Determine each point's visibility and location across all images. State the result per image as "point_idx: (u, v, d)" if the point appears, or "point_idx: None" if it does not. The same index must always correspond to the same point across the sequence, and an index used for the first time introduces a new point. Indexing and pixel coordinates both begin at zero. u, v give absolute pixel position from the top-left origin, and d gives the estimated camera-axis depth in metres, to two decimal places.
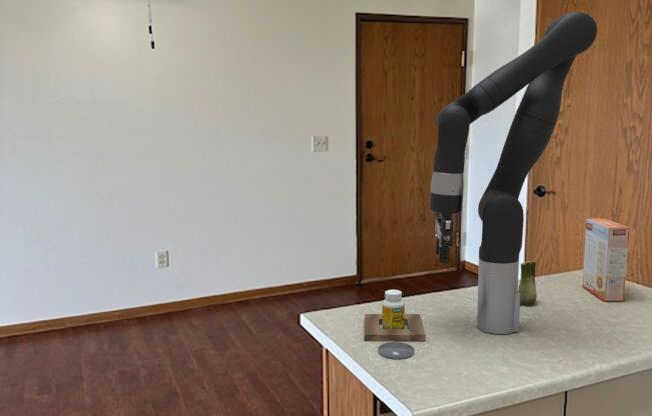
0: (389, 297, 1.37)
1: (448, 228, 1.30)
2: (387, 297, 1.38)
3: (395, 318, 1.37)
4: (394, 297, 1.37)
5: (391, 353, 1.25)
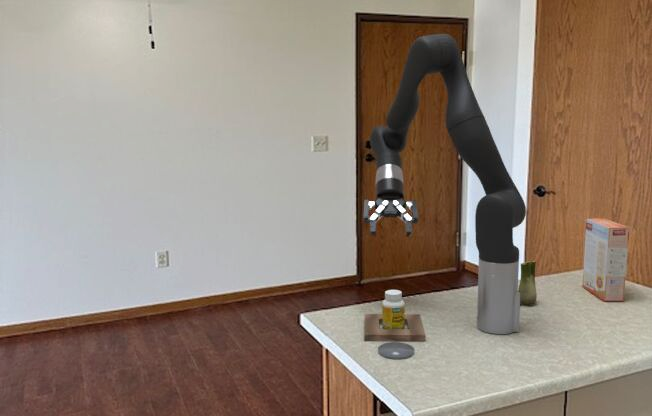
0: (389, 297, 1.37)
1: None
2: (387, 297, 1.38)
3: (395, 318, 1.37)
4: (394, 297, 1.37)
5: (391, 353, 1.25)
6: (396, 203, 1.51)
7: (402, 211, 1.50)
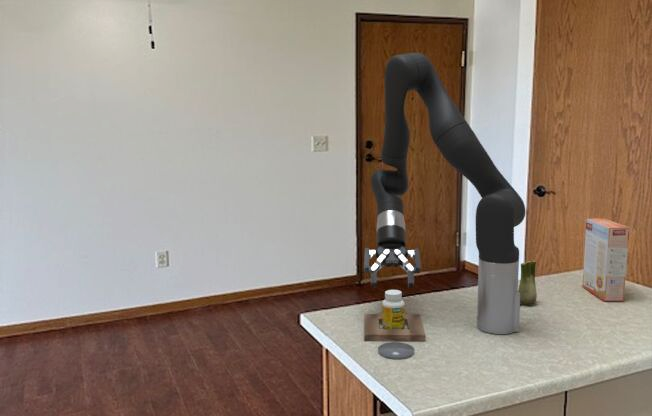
0: (389, 297, 1.37)
1: None
2: (387, 297, 1.38)
3: (395, 318, 1.37)
4: (394, 297, 1.37)
5: (391, 353, 1.25)
6: (398, 252, 1.46)
7: (404, 261, 1.45)
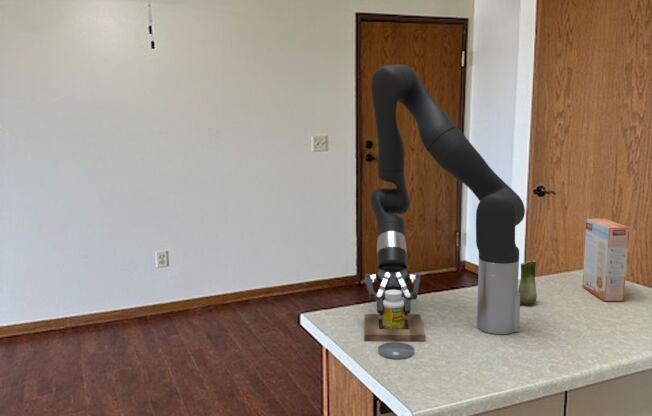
0: (389, 297, 1.37)
1: (366, 282, 1.43)
2: (387, 297, 1.38)
3: (395, 318, 1.37)
4: (394, 297, 1.37)
5: (391, 353, 1.25)
6: (398, 275, 1.41)
7: (402, 286, 1.40)
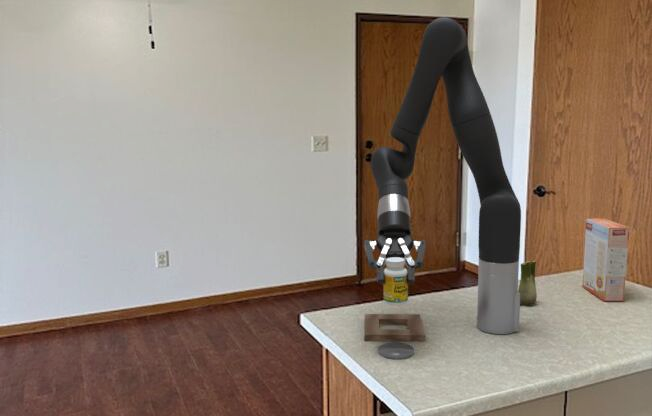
0: (391, 265, 1.23)
1: (365, 249, 1.29)
2: (388, 265, 1.23)
3: (397, 288, 1.23)
4: (396, 264, 1.23)
5: (391, 353, 1.25)
6: (401, 242, 1.27)
7: (405, 253, 1.26)
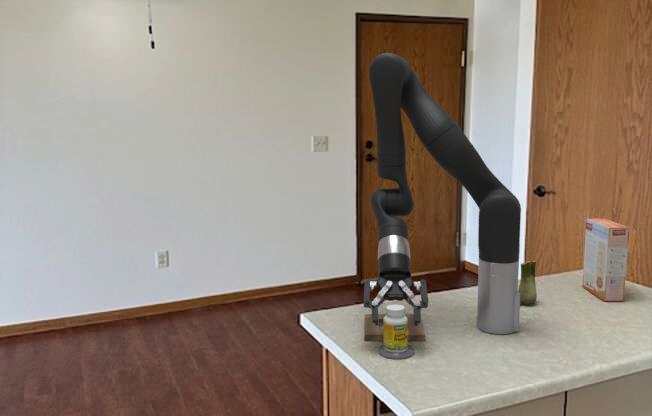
0: (391, 313, 1.24)
1: None
2: (389, 313, 1.25)
3: (398, 336, 1.24)
4: (396, 313, 1.24)
5: (391, 353, 1.25)
6: (402, 284, 1.28)
7: (409, 294, 1.27)
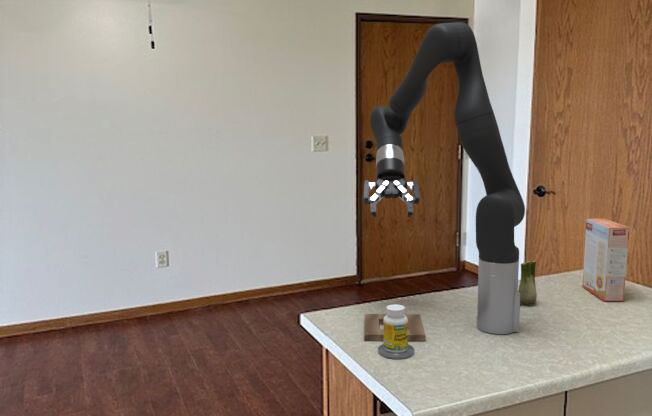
0: (391, 313, 1.24)
1: None
2: (389, 313, 1.25)
3: (398, 336, 1.24)
4: (397, 313, 1.24)
5: (391, 353, 1.25)
6: (397, 183, 1.48)
7: (403, 191, 1.46)
